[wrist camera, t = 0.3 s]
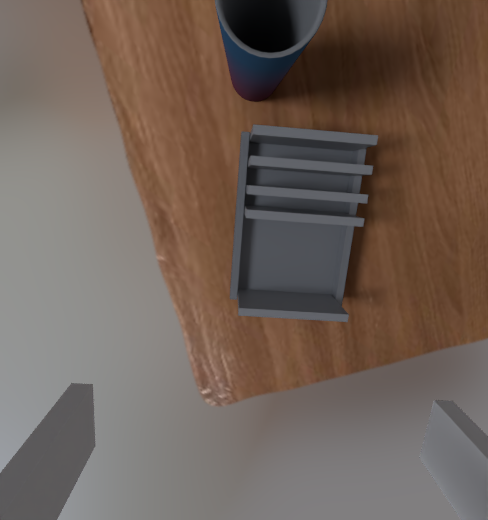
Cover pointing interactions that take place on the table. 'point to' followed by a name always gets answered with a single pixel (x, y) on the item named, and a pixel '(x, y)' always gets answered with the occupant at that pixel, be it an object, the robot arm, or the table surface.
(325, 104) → the table surface
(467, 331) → the table surface
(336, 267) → the rack
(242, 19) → the cup
